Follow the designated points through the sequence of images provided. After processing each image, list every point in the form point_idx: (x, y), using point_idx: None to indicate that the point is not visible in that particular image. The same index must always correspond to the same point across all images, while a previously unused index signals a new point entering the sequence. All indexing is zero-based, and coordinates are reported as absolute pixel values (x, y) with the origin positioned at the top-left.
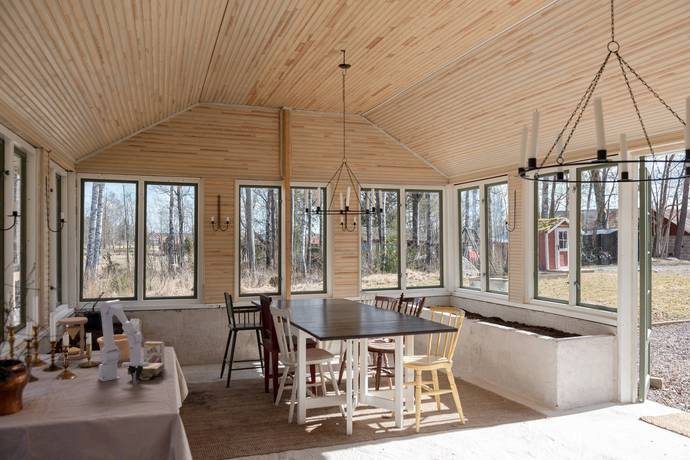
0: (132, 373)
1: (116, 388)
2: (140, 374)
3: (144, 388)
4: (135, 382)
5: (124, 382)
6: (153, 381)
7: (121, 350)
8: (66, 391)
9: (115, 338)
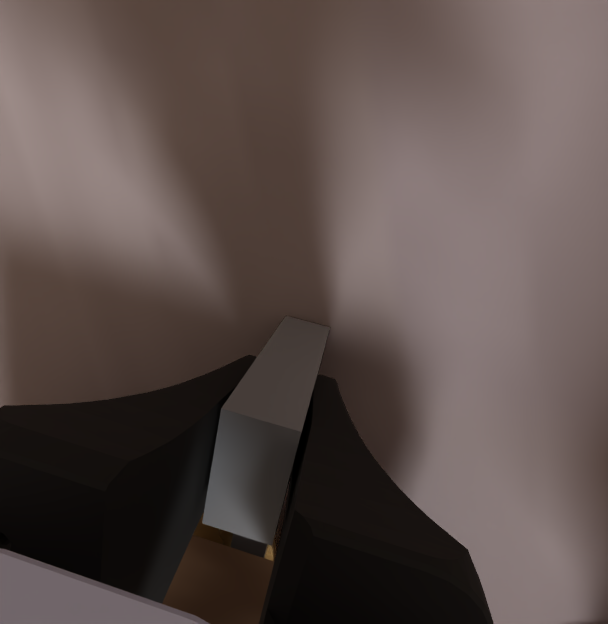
0: (313, 434)
1: (601, 120)
2: (227, 547)
3: (89, 22)
4: (285, 326)
5: (472, 460)
6: (89, 393)
7: None
8: None
9: None
